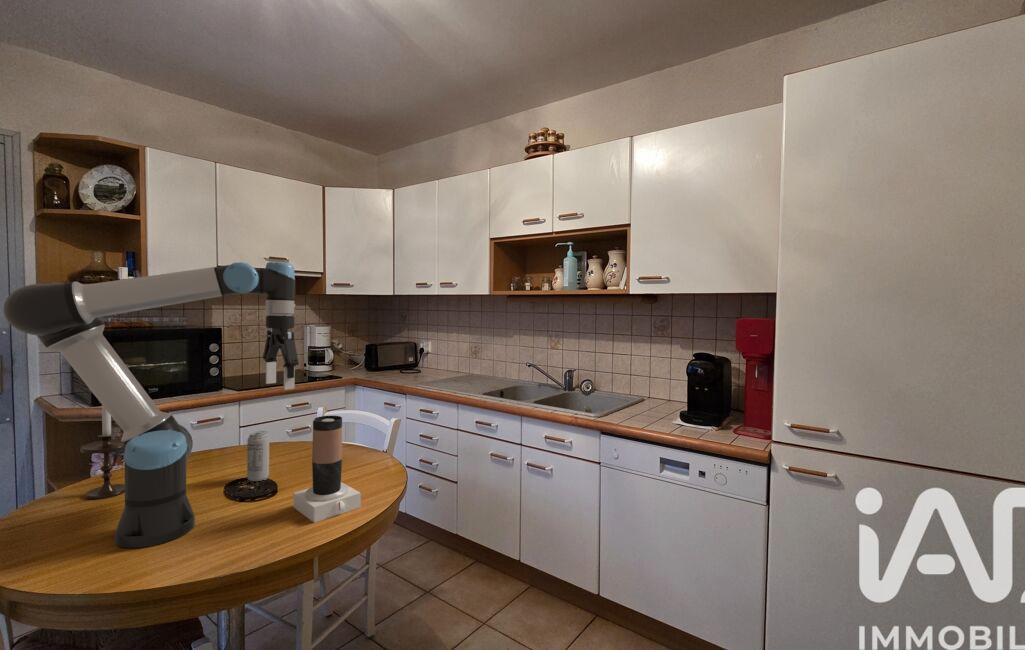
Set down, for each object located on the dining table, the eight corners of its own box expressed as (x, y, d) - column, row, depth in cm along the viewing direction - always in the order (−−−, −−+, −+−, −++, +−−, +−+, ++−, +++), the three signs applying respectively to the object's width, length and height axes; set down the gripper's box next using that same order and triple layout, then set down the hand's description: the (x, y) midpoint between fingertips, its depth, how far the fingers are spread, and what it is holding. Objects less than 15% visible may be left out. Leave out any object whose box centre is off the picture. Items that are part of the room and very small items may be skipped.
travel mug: (347, 488, 125) (348, 417, 125) (323, 498, 119) (324, 423, 118) (329, 482, 129) (330, 414, 129) (305, 491, 123) (306, 419, 122)
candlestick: (141, 486, 135) (140, 371, 134) (108, 501, 124) (107, 376, 123) (105, 485, 135) (105, 370, 134) (69, 500, 124) (68, 375, 123)
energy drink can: (273, 477, 145) (273, 431, 144) (258, 484, 139) (258, 436, 138) (257, 475, 146) (258, 429, 146) (242, 481, 140) (242, 434, 140)
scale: (315, 523, 114) (315, 505, 114) (293, 507, 124) (293, 490, 123) (361, 507, 124) (362, 490, 124) (338, 493, 133) (338, 477, 133)
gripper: (311, 316, 127) (310, 390, 128) (277, 314, 143) (276, 379, 144) (284, 315, 121) (283, 393, 122) (251, 313, 138) (251, 382, 139)
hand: (279, 386), depth 133 cm, fingers open, 13 cm apart
